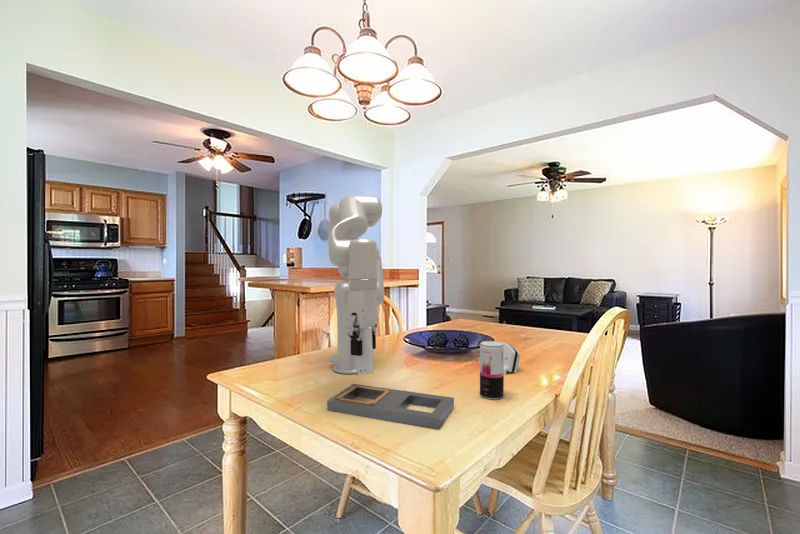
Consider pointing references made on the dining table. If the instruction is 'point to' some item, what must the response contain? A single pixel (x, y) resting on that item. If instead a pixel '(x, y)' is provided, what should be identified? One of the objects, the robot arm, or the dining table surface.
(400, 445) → the dining table surface
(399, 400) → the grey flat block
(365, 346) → the skincare box
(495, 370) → the beverage can
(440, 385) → the dining table surface
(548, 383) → the dining table surface
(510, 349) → the white curved block
